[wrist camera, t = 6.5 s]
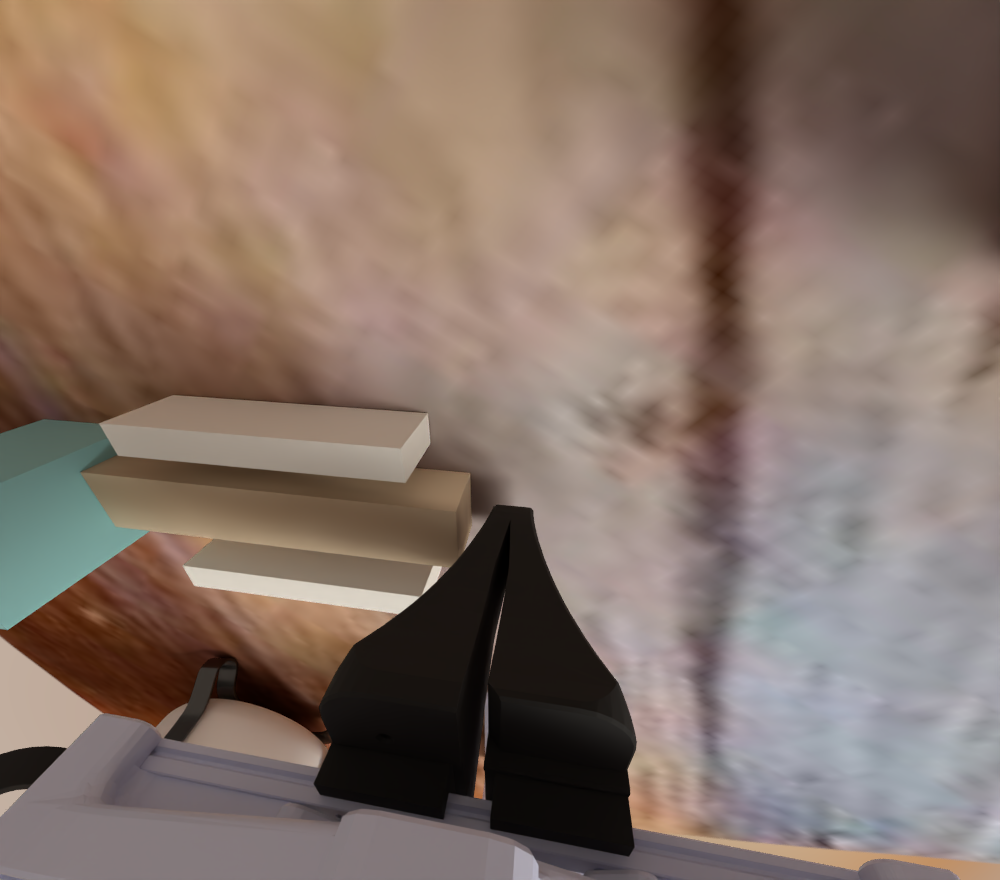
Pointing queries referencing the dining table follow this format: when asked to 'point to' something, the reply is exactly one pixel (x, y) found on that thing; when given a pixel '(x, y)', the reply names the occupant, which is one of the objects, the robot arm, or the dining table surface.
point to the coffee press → (200, 730)
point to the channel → (291, 448)
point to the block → (51, 514)
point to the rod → (291, 508)
